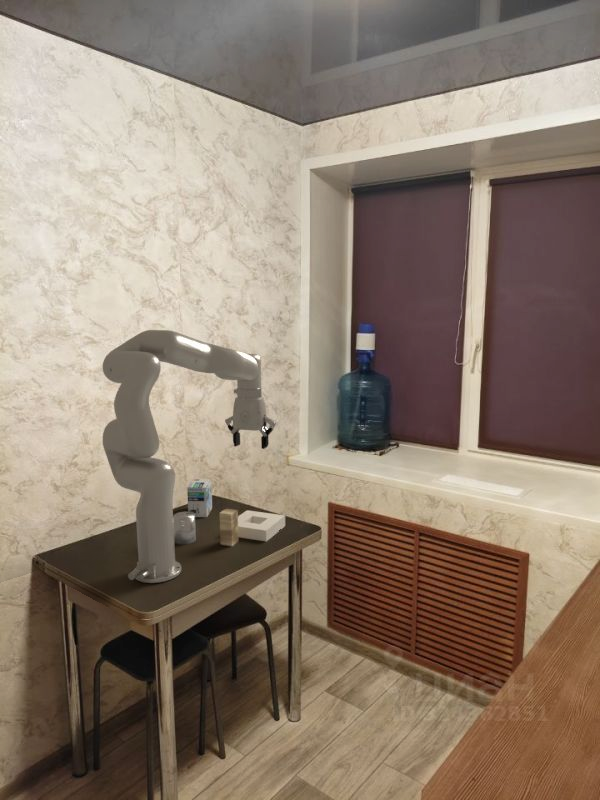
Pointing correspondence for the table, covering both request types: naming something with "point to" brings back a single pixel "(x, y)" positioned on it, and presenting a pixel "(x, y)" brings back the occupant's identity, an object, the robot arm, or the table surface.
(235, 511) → the square peg
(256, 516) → the socket block
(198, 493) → the light bulb box
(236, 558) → the table surface
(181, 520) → the clear glass cup
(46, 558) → the table surface
